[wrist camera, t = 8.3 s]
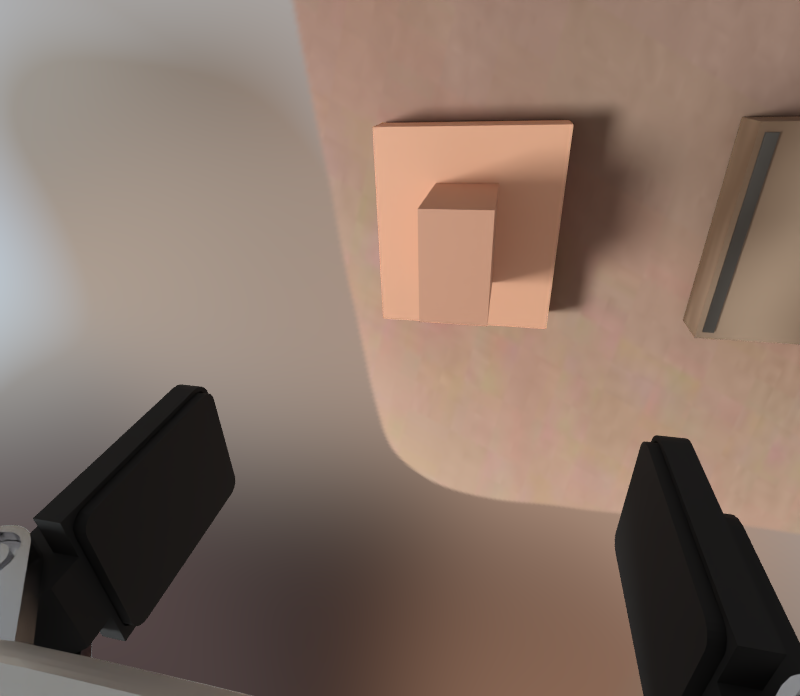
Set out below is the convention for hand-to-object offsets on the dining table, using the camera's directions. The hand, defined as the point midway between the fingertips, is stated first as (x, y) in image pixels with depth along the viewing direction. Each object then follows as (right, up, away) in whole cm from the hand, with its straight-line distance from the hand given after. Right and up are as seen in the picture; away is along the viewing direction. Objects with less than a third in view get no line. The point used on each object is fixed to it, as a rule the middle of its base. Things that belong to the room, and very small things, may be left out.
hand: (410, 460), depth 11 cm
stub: (+3, +9, +15) cm, 18 cm away
